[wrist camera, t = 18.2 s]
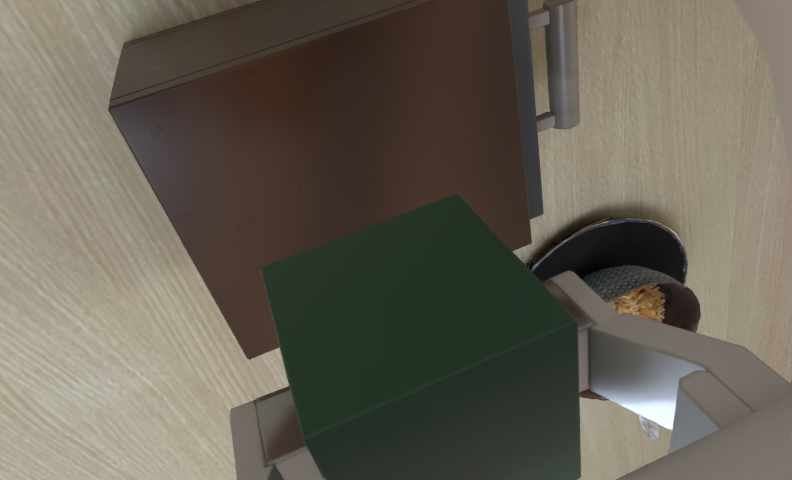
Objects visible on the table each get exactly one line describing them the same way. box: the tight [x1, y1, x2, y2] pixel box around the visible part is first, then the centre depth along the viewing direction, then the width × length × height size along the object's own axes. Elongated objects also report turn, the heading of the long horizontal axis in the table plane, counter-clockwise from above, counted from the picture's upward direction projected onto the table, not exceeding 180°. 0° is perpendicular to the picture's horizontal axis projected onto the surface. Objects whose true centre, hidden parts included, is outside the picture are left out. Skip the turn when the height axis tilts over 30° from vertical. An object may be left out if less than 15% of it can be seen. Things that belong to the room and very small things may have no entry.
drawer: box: [509, 0, 580, 219], centre depth 25 cm, size 17×10×7 cm, turn 103°
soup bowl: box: [529, 218, 701, 442], centre depth 40 cm, size 15×16×7 cm
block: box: [260, 194, 581, 480], centre depth 11 cm, size 4×4×4 cm
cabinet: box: [108, 0, 532, 360], centre depth 25 cm, size 14×12×9 cm
